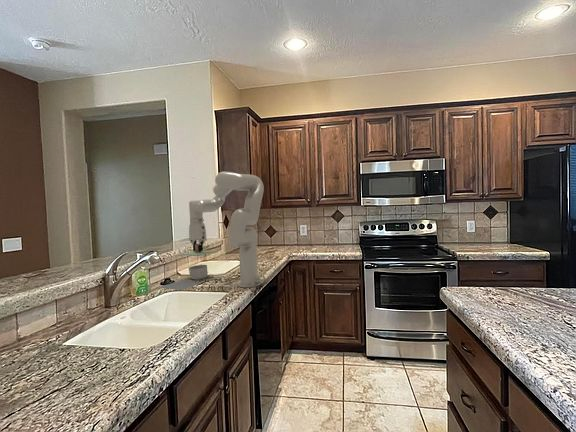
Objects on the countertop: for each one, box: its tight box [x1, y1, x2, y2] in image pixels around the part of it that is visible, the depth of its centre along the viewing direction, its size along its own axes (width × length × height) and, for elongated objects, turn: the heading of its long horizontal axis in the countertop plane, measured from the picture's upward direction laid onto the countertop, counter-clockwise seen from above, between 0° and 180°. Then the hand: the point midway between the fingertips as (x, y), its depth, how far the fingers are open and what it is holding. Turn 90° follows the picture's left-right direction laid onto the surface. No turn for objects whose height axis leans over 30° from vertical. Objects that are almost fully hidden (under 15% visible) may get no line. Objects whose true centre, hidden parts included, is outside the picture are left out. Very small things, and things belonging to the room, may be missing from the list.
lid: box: [181, 243, 215, 257], centre depth 200 cm, size 13×13×6 cm
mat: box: [157, 279, 204, 291], centre depth 186 cm, size 17×17×1 cm
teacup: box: [188, 264, 209, 281], centre depth 201 cm, size 14×11×8 cm
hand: (198, 250), depth 201 cm, fingers closed on lid, 3 cm apart
